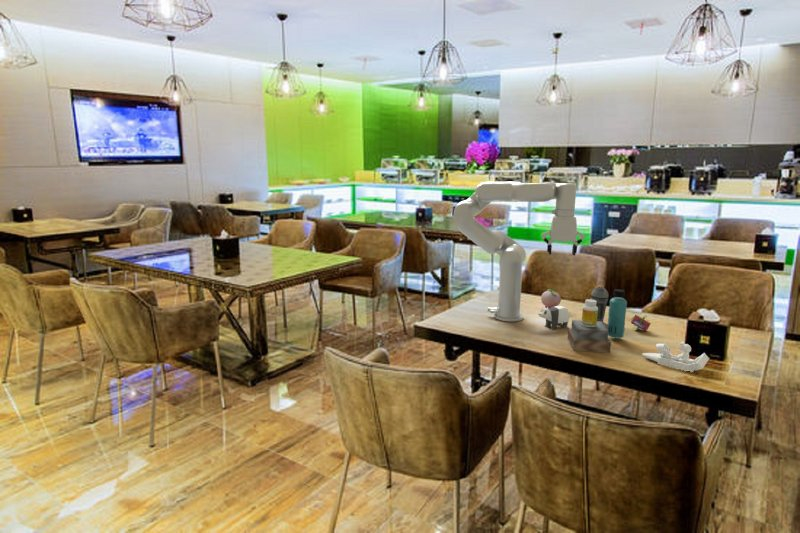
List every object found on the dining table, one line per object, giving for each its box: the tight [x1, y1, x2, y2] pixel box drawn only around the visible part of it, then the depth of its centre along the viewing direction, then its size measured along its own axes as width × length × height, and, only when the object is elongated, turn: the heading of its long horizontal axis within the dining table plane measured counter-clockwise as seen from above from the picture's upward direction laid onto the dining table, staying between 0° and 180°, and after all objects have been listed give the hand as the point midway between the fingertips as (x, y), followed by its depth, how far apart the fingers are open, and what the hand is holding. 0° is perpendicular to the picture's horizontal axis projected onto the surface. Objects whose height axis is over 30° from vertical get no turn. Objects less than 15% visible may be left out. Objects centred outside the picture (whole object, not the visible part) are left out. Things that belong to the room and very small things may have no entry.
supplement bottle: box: [581, 298, 598, 327], centre depth 197 cm, size 5×5×10 cm
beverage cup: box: [590, 277, 609, 324], centre depth 225 cm, size 7×7×20 cm
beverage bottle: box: [606, 289, 628, 339], centre depth 205 cm, size 6×7×20 cm
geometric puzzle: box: [630, 314, 652, 333], centre depth 216 cm, size 7×7×8 cm
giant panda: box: [538, 305, 570, 330], centre depth 219 cm, size 15×6×10 cm, turn 115°
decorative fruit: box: [540, 288, 562, 308], centre depth 244 cm, size 9×8×10 cm
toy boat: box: [642, 341, 710, 373], centre depth 181 cm, size 11×20×9 cm, turn 49°
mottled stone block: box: [567, 319, 612, 353], centre depth 199 cm, size 13×13×8 cm
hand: (561, 254), depth 218 cm, fingers open, 9 cm apart
